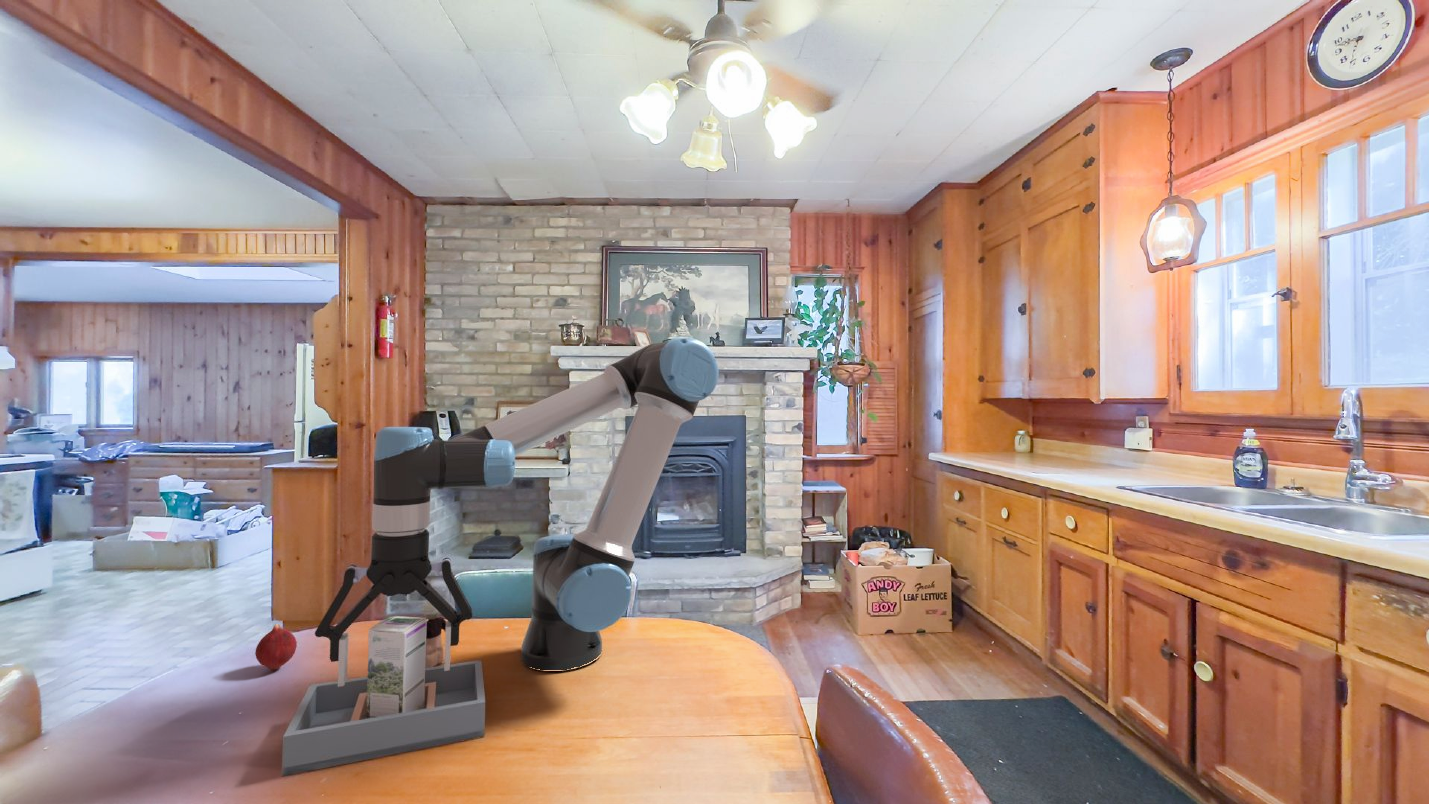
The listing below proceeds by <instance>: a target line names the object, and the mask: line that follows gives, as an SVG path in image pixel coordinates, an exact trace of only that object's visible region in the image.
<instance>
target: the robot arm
mask: <svg viewBox="0 0 1429 804" xmlns="http://www.w3.org/2000/svg"><path fill="white" fill-rule="evenodd" d="M719 374H720V373H719V365H718V362H717V360H716V357H715V355H714V352H713V351H712V350H711V349H710V347H709V346H707V344H705V343H704V342H703V341H701V340H699V339H696V338H692V337H675V338H671V339H670V340H667V341H661V342H655V343H651V344H649V345H645V346H644V347H642V348H640V349H638V350H636V351H634V352H633V353H631V354H629V355H628V356H625V357H624V358H622V359H620V360H618V361H615V362H614V363H612V364H609V365H607V366H605V369H604V372H603V373H601V374H599V375H597V376H595V377H592V378H590V379H589V378H588V379H587V380H586V381H583V382H581V383H578V384H576V385H573V386H572V387H570V388H569V387H568V388H566V389H564V390H563V391H560V392H558V393H555V394H553V395H551V396H548V397H546V398H544V399H542V400H538V401H537V402H534V403H532V404H530V405H528V406H525V407H522V408H521V409H518V410H516V411H514V412H512V413H509V414H507V415H504V416H502V417H500V418H498V419H496V420H493V421H491V422H489V423H486V424H484V425H483V426H479V427H478V428H475V429H472V430H470V431H467V432H465V433H462V434H456V435H453V436H451V437H450V438H448V439H447V440H444V439H440V440H439V439H435V438H434V436H433V430H432V428H430V427H423V426H421V427H420V426H388V427H383V428H381V429H379V431H378V432H377V433H376V435H375V444H374V445H375V447H374V457H373V458H374V459H373V500H372V501H373V502H372V513H371V515H372V518H371V521H372V522H371V530H373V531H374V534H373V535H372V536H371V551H370V552H371V554H370V565H369V566H368V567H364V566H363V567H361V566H357V565H355V564H351V565H349V566H348V567H347V569H346V570H345V572H344V575H343V582H342V586H341V587H340V589H339V591H338V592H337V594H336V596H335V597H334V599H333V601H332V602H331V604H330V606H328V607H329V608H328V609H327V611H326V612H325V614H324V616H323V618H322V620H321V621H320V623H319V625H318V626H317V628H316V630H315V631H314V635H315V637H317V638H321V637H323V638H327V639H328V640H329V660H330V662H331V663H333V662H337V664H338V665H337V666H338V667H337V669H338V670H337V681H338V687H340V686H344V684H345V682H346V679H348V663H349V635H350V634H349V632H346V631H347V630H348V629H349V628H350V626H351V625H352V624H353V623H354V622H355V621H356V620H357V619H358V618H359V617H360V616H361V615H362V613H363V612H364V611H365V610H366V609H367V608H368V607H369V606H370V605H371V603H372V602H374V601H375V600H376V598H378V596H379V595H380V594H381V595H383V596H386V597H392V596H393V597H394V596H396V595H403V596H404V595H411V594H412V593H414V592H415V591H416V592H418V594H419V595H420V596H421V597H423V598H424V599H426V601H429V602H430V603H431V604H432V605H433V606H434V607H435V608H436V609H437V610H438V611H439V612H440V614H441V616H443V618H445V621H446V631H444V632H445V635H444V636H445V637H444V639H445V640H444V661H443V664H444V671H448V670H450V664H451V647H453V646H455V647H456V646H458V644H459V643H460V625H461V624H462V622H464V621H468V620H471V619H472V618H473V609H472V607H471V605H470V603H469V601H468V599H467V598H466V597H467V596H465V593H464V592H463V590H462V588H461V586H460V584H459V583H458V581H457V579H456V577H455V575H454V573H453V570H452V561H451V559H450V558H449V557H444V558H443V559H442V560H438V561H431V560H430V558H429V554H430V553H429V551H430V549H429V548H430V546H429V545H430V531H428V529H427V528H428V527H430V522H431V521H430V520H431V519H430V516H431V490H443V489H468V488H469V489H470V488H473V489H474V488H477V489H478V488H488V489H491V488H495V487H505V486H509V485H510V484H512V482H513V479H514V476H515V469H516V456H519V455H521V454H524V453H525V452H528V451H529V450H532V449H534V448H535V447H538V446H541V445H542V444H544V443H547V442H549V441H551V440H553V439H555V438H557V437H559V436H561V435H564V434H565V433H568V432H570V431H572V430H574V429H577V428H579V427H581V426H582V425H585V424H587V423H590V422H591V421H594V420H596V419H598V418H600V417H602V416H605V415H606V414H608V413H610V412H613V411H615V410H617V409H619V408H620V409H622V410H623V409H624V410H629V409H630V408H633V407H635V406H638V407H637V409H636V411H635V414H634V416H633V418H632V421H631V423H630V426H628V430H627V432H626V435H625V437H624V439H623V442H622V445H621V447H620V449H619V452H618V454H617V456H616V458H615V460H614V463H613V465H612V467H611V469H610V472H609V475H608V477H607V480H606V482H605V483H604V486H603V489H602V492H601V493H600V496H599V498H598V500H597V503H596V505H595V507H594V510H593V512H592V514H591V517H590V520H589V521H588V524H587V526H586V528H585V529H584V530H582V531H580V532H577V533H576V534H575V533H573V534H572V533H568V534H558V535H550V536H549V535H547V536H544V537H540V538H538V539H537V540H536V541H535V543H534V546H533V553H532V558H533V560H532V561H533V563H532V597H531V598H532V604H531V606H532V607H531V608H532V609H531V618H530V622H529V623H528V627H527V629H526V632H525V634H524V635H525V636H524V638H523V641H522V643H521V651H520V660H521V662H523V663H522V664H523V665H524V664H525V665H526V667H527V668H529V667H532V668H535V669H540V670H567V669H571V668H574V667H580V666H582V665H584V664H587V663H589V662H591V661H593V660H594V659H596V658H597V657H598V656H599V655H600V654H601V652H602V653H603V639H602V636H601V631H603V630H605V629H606V628H609V627H610V626H613V625H614V624H616V623H617V622H618V621H619V620H620V619H621V618H622V617H623V615H625V614H626V611H627V610H628V608H629V606H630V603H631V601H632V594H633V593H632V591H633V589H632V586H631V585H632V584H631V581H630V577H629V576H630V574H631V571H632V569H633V567H634V565H635V561H636V558H635V555H634V554H635V553H634V552H633V549H632V546H633V543H634V541H635V539H636V536H637V533H638V531H639V528H640V527H641V523H642V521H643V519H644V516H645V514H646V513H647V509H648V506H649V504H650V501H651V499H652V496H653V495H654V492H655V489H656V487H657V484H658V481H659V480H660V477H661V474H662V472H663V469H664V467H665V464H666V461H667V459H668V457H669V455H670V452H671V451H672V450H671V449H672V448H673V446H674V445H673V444H674V443H675V439H676V438H677V435H678V432H679V430H680V427H681V425H682V424H683V423H686V422H688V421H690V420H692V419H693V417H694V415H695V413H696V410H697V407H698V406H699V402H700V401H702V400H705V399H706V398H707V397H709V396H711V394H712V393H713V392H714V391H715V390H716V389H715V388H716V386H717V384H718V381H719V376H720V375H719ZM432 571H434V572H435V573H436V575H437V576H439V577H440V576H442V579H443V581H444V583H445V585H446V587H447V589H448V590H449V593H450V595H451V596H452V599H453V600H454V602H455V603H456V605H457V607H458V609H459V611H457V610H456V609H455V608H454V607H453V606H452V605H451V604H450V603H449V602H448V601H447V600H446V599H445V598H444V597H443V596H442V595H441V594H440V593H439V592H438V591H437V590H436V589H435V588H434V587H433V586H432V585H431V583H430V582H429V581H428V580H427V577H428V576H429V574H430V573H431V572H432ZM363 577H366V578H367V579H368V580H369V581H370V583H372V586H371V587H370V588H369V589H368V590H367V591H366V592H365V594H364V595H363V597H361V598H360V600H358V602H357V603H355V605H353V607H352V608H351V609H350V610H349V611H348V612H347V613H346V614H345V616H344V617H343V618H342V619H340V620H339V622H338V623H337V624H336V625H332V623H333V621H334V619H335V617H336V616H337V614H338V612H339V610H340V609H341V606H342V605H343V603H344V601H345V600H346V598H347V596H348V595H349V593H350V591H351V590H352V588H353V586H354V584H358V583H359V582H360V581H361V580H362V578H363ZM601 655H602V654H601ZM525 665H524V666H525Z"/></svg>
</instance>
